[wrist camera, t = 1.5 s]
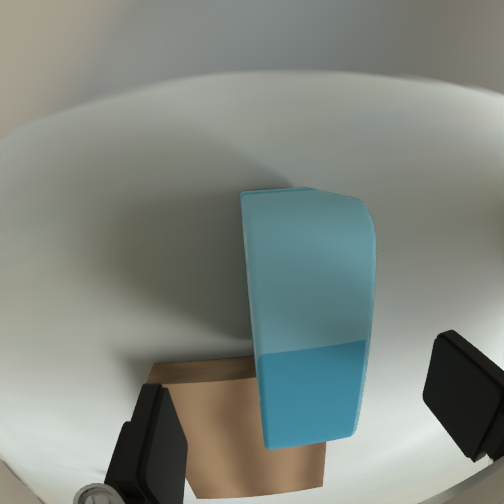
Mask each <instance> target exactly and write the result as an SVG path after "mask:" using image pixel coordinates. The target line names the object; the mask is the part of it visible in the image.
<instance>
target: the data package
mask: <svg viewBox="0 0 504 504" xmlns="http://www.w3.org/2000/svg"><path fill="white" fill-rule="evenodd" d="M240 203H241V215H242V227H243V239H244V251H245V262H246V274H247V285H248V296H249V308H250V319H251V330H252V341H253V351H254V360H255V369H256V378H257V387H258V396H259V405H260V414H261V423H262V432H263V440H264V446H265V448H266V449H269V450H272V449H280V448H288V447H296V446H302V445H309V444H315V443H320V442H326V441H331V440H336V439H341V438H346V437H350V436H352V435H353V434H354V433H355V431H356V429H357V425H358V420H359V414H360V409H361V403H362V397H363V391H364V385H365V378H366V371H367V363H368V355H369V347H370V338H371V328H372V317H373V304H374V289H375V269H376V237H375V230H374V225H373V221H372V218H371V215H370V213H369V211H368V209H367V207H366V206H365V205H364V203H363V202H362V201H360V200H359V199H357V198H353V197H349V196H345V195H340V194H336V193H331V192H326V191H322V190H317V189H312V188H307V187H300V188H283V189H269V190H255V191H244V192H242V193H241V194H240Z"/></svg>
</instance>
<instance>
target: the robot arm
mask: <svg viewBox="0 0 504 504" xmlns="http://www.w3.org/2000/svg"><path fill="white" fill-rule="evenodd" d="M423 400H424V402H425V404H426V405H427V406H428V407H429V409H430V410H431V411H432V413H433V414H434V415H435V417H436V418H437V419H438V420H439V422H440V423H441V424H442V426H443V427H444V428H445V430H446V431H447V432H448V433H449V435H450V436H451V437H452V439H453V440H454V441H455V443H456V444H457V445H458V447H459V448H460V449H461V451H462V452H463V453H464V455H465V456H466V457H468V458H471V460H472V461H473V462H474V463H475V462H476V461H478V460H480V459H481V458H483V457H484V456H485V455H486V453H487V455H488V456H489V460H488V467H486V468H484V469H483V470H481V471H479V472H478V473H476V474H475V475H473V476H471V477H469V478H468V479H466V480H464V481H462V482H461V483H459V484H457V485H455V486H453V487H451V488H449V489H447V490H445V491H443V492H441V493H439V494H437V495H435V496H433V497H431V498H429V499H427V500H425V501H422V502H420V503H418V504H504V371H503V370H502V369H501V368H500V367H499V366H497V365H496V364H495V363H494V362H493V361H491V360H490V359H489V358H488V357H487V356H485V355H484V354H483V353H482V352H481V351H479V350H478V349H477V348H476V347H474V346H473V345H472V344H471V343H469V342H468V341H467V340H466V339H464V338H463V337H462V336H461V335H459V334H458V333H457V332H456V331H454V330H448V331H445V332H442V333H440V334H438V336H437V338H436V339H435V340H434V344H433V350H432V355H431V360H430V364H429V369H428V373H427V378H426V382H425V386H424V390H423ZM187 453H188V443H187V439H186V436H185V434H184V431H183V429H182V426H181V423H180V421H179V418H178V415H177V412H176V410H175V407H174V404H173V401H172V398H171V395H170V392H169V390H168V388H167V387H163V386H162V384H161V383H152V384H143V386H142V389H141V391H140V394H139V397H138V400H137V403H136V406H135V409H134V412H133V415H132V418H131V421H126V422H125V423H124V424H123V426H122V429H121V432H120V434H119V437H118V440H117V443H116V446H115V449H114V452H113V455H112V459H111V462H110V465H109V468H108V471H107V474H106V478H105V481H104V484H102V483H93V484H89V485H86V486H84V487H83V488H81V489H80V490H79V491H78V492H77V493H76V495H75V497H74V499H73V504H183V497H184V486H185V474H186V464H187Z"/></svg>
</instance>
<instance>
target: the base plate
mask: <svg viewBox="0 0 504 504" xmlns="http://www.w3.org/2000/svg"><path fill="white" fill-rule="evenodd" d="M152 383H161V384H162V386H163V387H167V388H168V390H169V392H170V395H171V398H172V401H173V404H174V407H175V410H176V412H177V415H178V418H179V421H180V423H181V426H182V429H183V431H184V434H185V436H186V439H187V443H188V453H187V464H186V474H185V477H186V479H187V481H188V483H189V485H190V487H191V488H192V490H193V492H194V494H195V496H196V498H197V499H218V498H240V497H253V496H263V495H272V494H280V493H287V492H294V491H300V490H306V489H311V488H317V487H322V486H323V476H324V465H325V452H326V442H320V443H315V444H309V445H302V446H296V447H288V448H280V449H272V450H269V449H266V448H265V446H264V440H263V432H262V423H261V414H260V405H259V396H258V387H257V378H256V369H255V360H254V356H247V357H238V358H228V359H218V360H206V361H194V362H179V363H160V364H154V365H153V367H152V370H151V373H150V375H149V378H148V381H147V383H146V384H152Z"/></svg>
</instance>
